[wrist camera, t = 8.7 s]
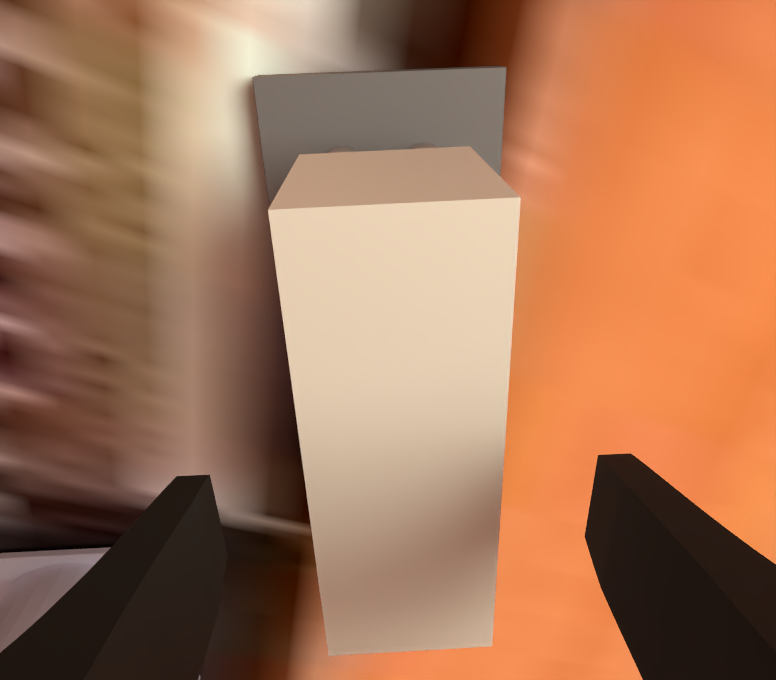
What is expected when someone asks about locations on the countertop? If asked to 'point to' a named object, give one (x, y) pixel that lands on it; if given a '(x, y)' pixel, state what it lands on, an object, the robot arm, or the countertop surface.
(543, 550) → the countertop surface
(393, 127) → the peg stand
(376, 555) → the beige rectangular block
